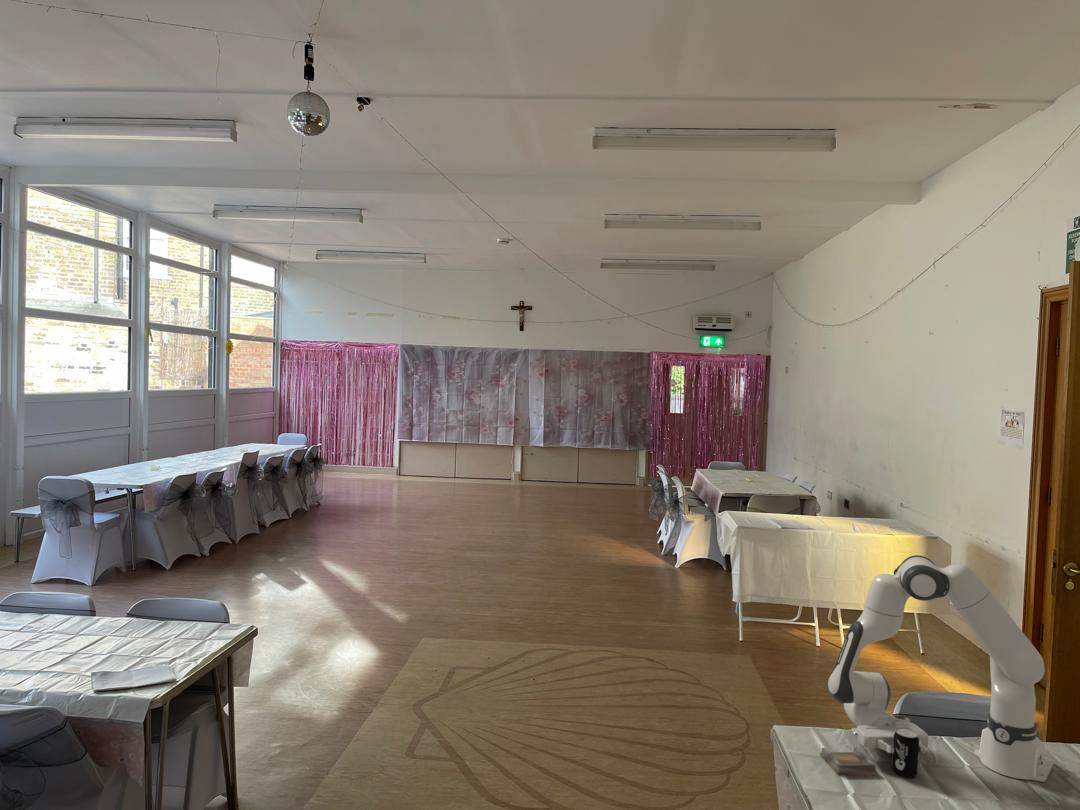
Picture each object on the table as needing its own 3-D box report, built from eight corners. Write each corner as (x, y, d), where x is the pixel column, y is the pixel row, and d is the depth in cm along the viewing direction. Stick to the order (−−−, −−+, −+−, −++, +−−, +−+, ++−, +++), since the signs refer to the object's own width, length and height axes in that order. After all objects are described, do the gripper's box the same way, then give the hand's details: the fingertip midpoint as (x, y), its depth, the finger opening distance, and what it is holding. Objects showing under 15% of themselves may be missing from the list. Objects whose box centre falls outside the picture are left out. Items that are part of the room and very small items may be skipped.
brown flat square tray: (819, 755, 218) (820, 746, 218) (854, 754, 219) (855, 745, 219) (838, 775, 207) (838, 765, 207) (875, 774, 208) (875, 765, 208)
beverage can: (920, 780, 206) (922, 739, 205) (895, 777, 207) (897, 736, 207) (913, 768, 212) (915, 728, 212) (888, 765, 213) (891, 725, 213)
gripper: (848, 717, 221) (873, 740, 207) (912, 717, 223) (941, 739, 209) (847, 737, 221) (872, 761, 208) (910, 737, 223) (939, 760, 210)
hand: (907, 750), depth 209 cm, fingers open, 8 cm apart
